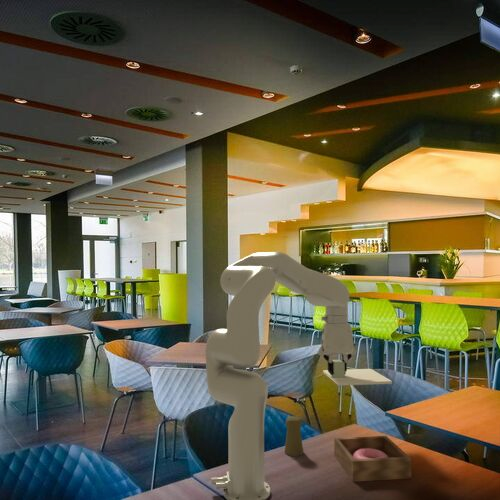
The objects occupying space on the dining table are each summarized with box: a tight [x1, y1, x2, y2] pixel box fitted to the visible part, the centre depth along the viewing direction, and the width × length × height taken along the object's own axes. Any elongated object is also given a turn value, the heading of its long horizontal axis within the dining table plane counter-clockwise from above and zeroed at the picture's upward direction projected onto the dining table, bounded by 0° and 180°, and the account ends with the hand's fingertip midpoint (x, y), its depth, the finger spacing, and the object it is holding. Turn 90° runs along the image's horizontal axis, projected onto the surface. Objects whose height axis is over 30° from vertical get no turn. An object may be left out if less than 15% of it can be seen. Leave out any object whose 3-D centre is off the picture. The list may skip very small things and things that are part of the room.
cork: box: [284, 415, 304, 457], centre depth 144 cm, size 6×6×11 cm
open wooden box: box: [333, 435, 412, 483], centre depth 134 cm, size 17×17×6 cm
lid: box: [322, 359, 393, 387], centre depth 153 cm, size 18×18×6 cm
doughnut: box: [353, 448, 389, 460], centre depth 134 cm, size 11×11×4 cm
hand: (337, 373), depth 153 cm, fingers closed on lid, 3 cm apart
